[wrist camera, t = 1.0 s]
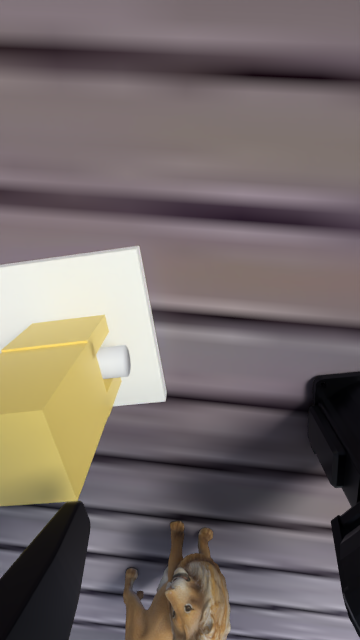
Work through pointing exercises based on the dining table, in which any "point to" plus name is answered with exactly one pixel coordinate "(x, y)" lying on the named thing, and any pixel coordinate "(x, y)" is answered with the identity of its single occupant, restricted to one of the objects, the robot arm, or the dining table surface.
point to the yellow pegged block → (52, 409)
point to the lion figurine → (181, 597)
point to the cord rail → (91, 312)
